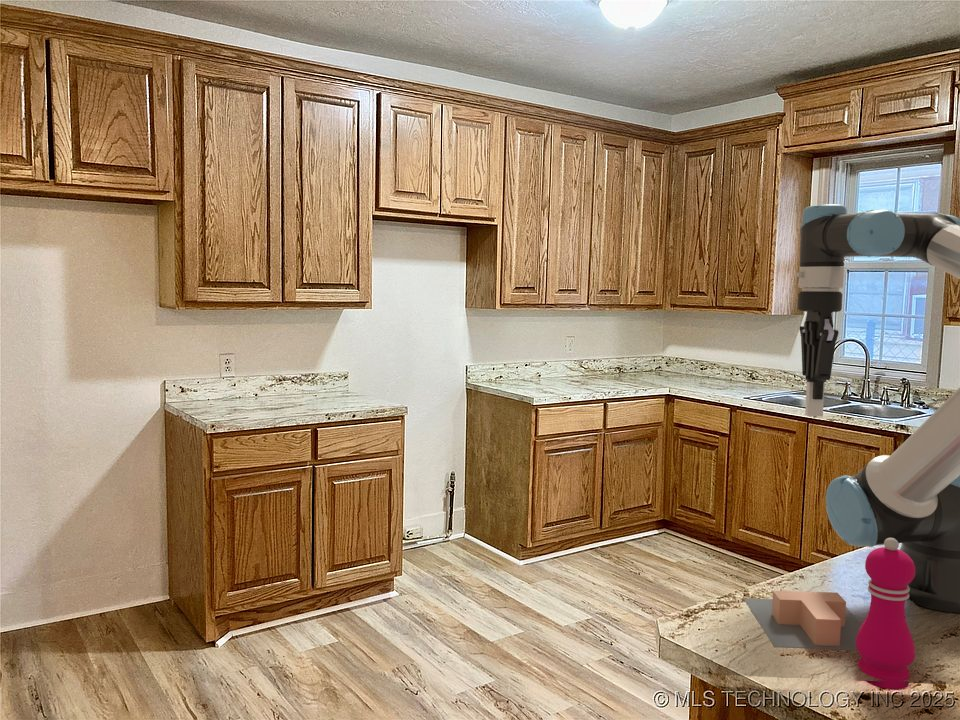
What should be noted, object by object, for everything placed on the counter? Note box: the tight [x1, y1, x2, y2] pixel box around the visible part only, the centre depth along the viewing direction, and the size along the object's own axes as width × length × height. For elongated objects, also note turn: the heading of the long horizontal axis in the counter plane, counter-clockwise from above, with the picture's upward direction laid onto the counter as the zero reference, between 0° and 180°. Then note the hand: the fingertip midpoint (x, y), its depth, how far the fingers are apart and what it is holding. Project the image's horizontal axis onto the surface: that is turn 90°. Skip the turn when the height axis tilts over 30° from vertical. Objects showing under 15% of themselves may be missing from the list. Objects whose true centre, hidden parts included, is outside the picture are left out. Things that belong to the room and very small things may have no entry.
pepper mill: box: [856, 538, 916, 690], centre depth 103 cm, size 7×7×20 cm
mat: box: [743, 597, 863, 651], centre depth 118 cm, size 16×17×1 cm
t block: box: [772, 589, 847, 646], centre depth 115 cm, size 10×10×4 cm
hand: (813, 415), depth 142 cm, fingers closed
